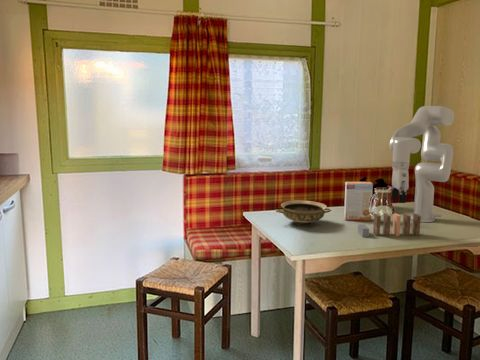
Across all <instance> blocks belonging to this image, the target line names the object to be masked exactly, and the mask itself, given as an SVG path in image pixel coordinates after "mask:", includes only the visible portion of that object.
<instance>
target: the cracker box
mask: <svg viewBox="0 0 480 360" xmlns="http://www.w3.org/2000/svg"><path fill="white" fill-rule="evenodd" d="M373 185H374V183H373V182H372V181H366V182H359V181H345V182H344V209H343V210H344V213H343V214H344V215H343V216H344V217H343V218H344V220H345V221H354V222H355V221H357V222H358V221H361V222H371V221H372V214H371V215H370V212H369V207H370V206H369V203H370V202H369V201H370V200H369V199H370V198H371V197H372V191H373Z"/></svg>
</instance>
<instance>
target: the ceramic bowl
mask: <svg viewBox="0 0 480 360" xmlns="http://www.w3.org/2000/svg"><path fill="white" fill-rule="evenodd" d="M280 207H281V208H282V209H275V212H276V213H278V214H283V216H284V217H285V219H287V220H290V221H293V222H294V224H296V225H298V226H309V225H311V223H314V222H317V221H319V220H321V219H323V218H324V215H325V214H326V213H331V212H332V209H331V208H328V207H327V205H326V204H325V203H321V202H317V201H311V200H298V199H297V200H288V201H284V202H282V203H281V204H280Z"/></svg>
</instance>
